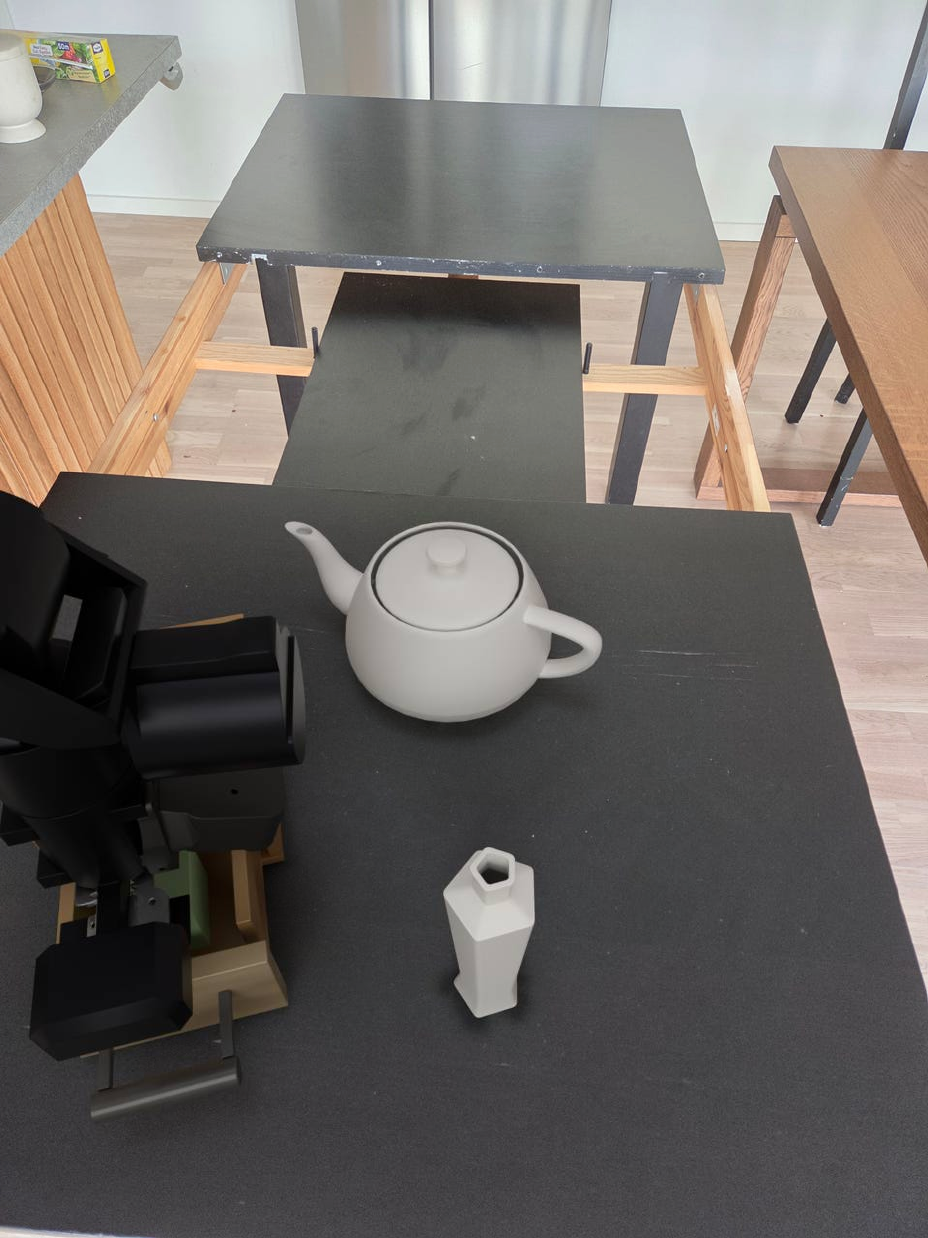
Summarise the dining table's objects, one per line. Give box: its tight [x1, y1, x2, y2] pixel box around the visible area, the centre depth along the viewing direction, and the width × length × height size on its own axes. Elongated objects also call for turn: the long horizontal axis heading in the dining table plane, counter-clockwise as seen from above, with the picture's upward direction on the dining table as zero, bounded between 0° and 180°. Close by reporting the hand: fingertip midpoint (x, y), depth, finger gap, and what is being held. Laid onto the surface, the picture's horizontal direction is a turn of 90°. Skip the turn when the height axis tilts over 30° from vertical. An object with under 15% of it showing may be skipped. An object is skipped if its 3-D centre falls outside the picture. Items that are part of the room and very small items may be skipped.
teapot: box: [284, 521, 603, 723], centre depth 62 cm, size 25×16×12 cm, turn 66°
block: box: [130, 850, 210, 950], centre depth 47 cm, size 4×4×4 cm
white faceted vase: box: [442, 846, 536, 1019], centre depth 44 cm, size 5×4×15 cm
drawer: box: [55, 850, 289, 1126], centre depth 48 cm, size 18×11×7 cm, turn 14°
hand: (163, 911), depth 47 cm, fingers closed on block, 4 cm apart
